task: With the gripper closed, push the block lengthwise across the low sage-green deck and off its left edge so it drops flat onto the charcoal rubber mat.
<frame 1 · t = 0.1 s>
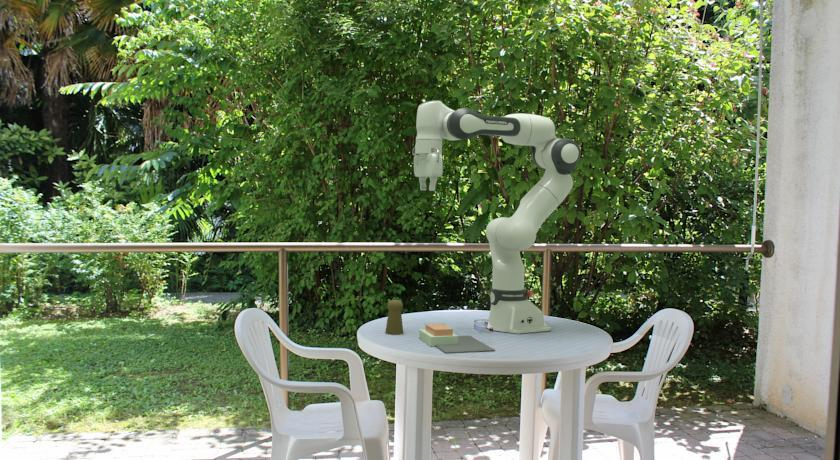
hand: (427, 190, 240), 48 cm above the table, fingers open, 8 cm apart
cork: (394, 333, 240), on the table
deck: (438, 341, 228), resting on mat
mat: (458, 344, 225), on the table
block: (438, 332, 227), point 3 cm above the table, touching deck
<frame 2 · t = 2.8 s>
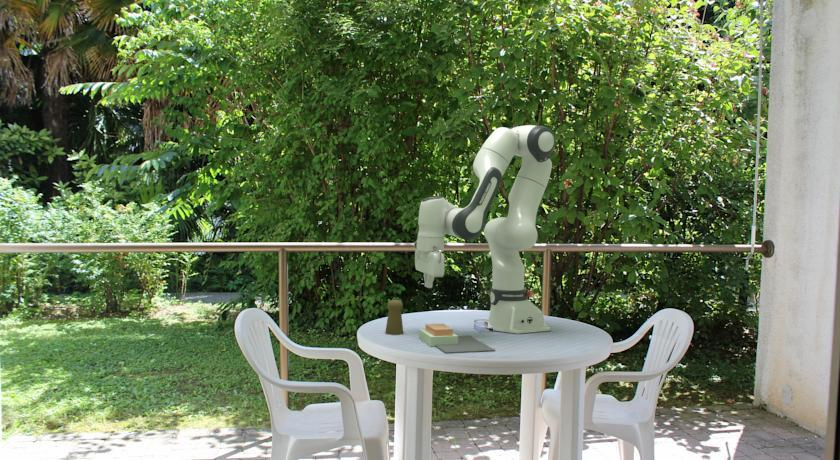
hand: (428, 287, 236), 16 cm above the table, fingers closed
nothing on the table moved.
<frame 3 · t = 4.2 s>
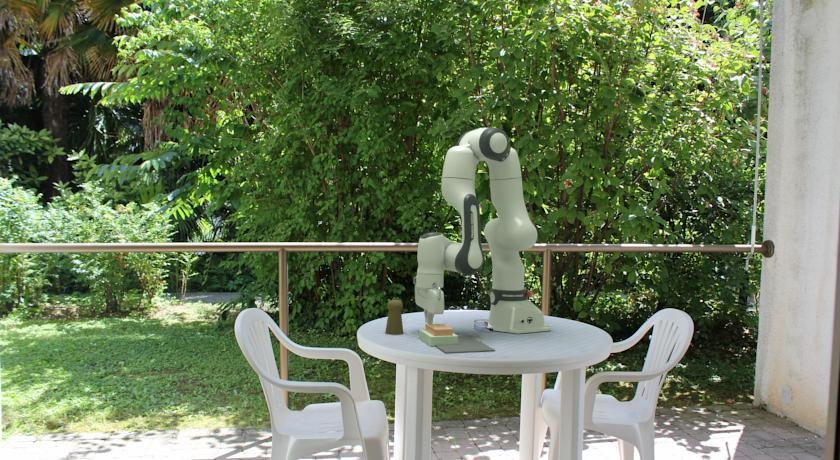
hand: (428, 323, 237), 4 cm above the table, fingers closed
nothing on the table moved.
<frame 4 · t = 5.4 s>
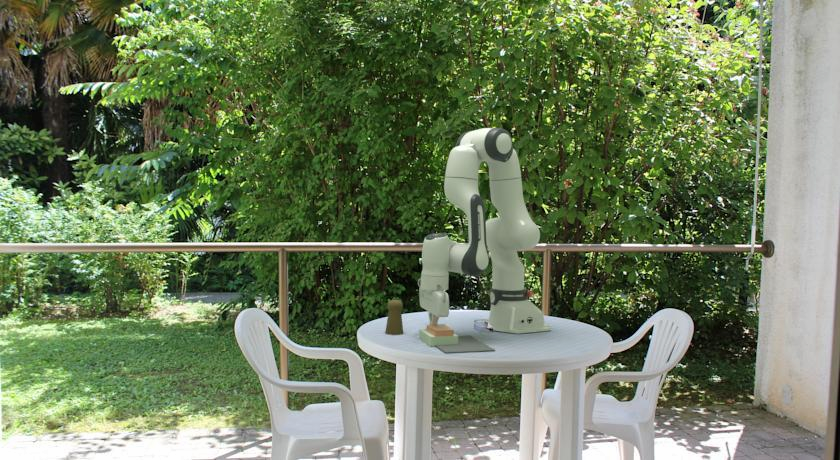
hand: (433, 326, 232), 4 cm above the table, fingers closed
block: (439, 333, 226), point 3 cm above the table, touching deck, gripper
everything else where it was.
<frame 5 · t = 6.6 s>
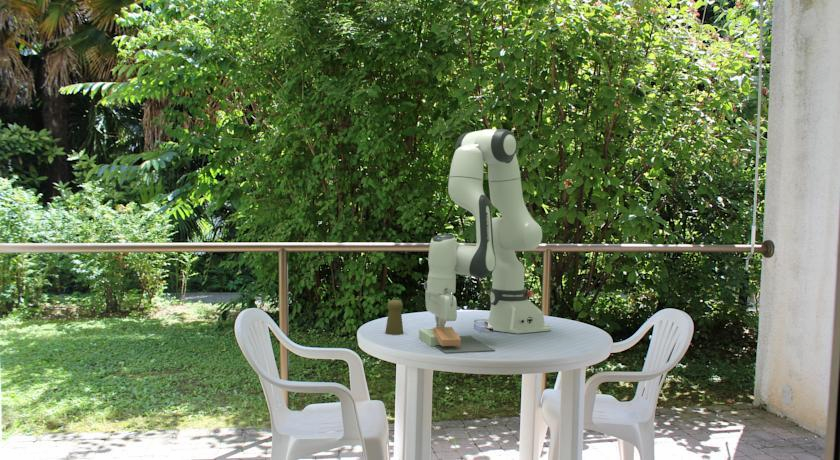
hand: (440, 330, 225), 4 cm above the table, fingers closed
block: (446, 339, 220), point 3 cm above the table, tilted 13°, touching gripper
everything else where it was.
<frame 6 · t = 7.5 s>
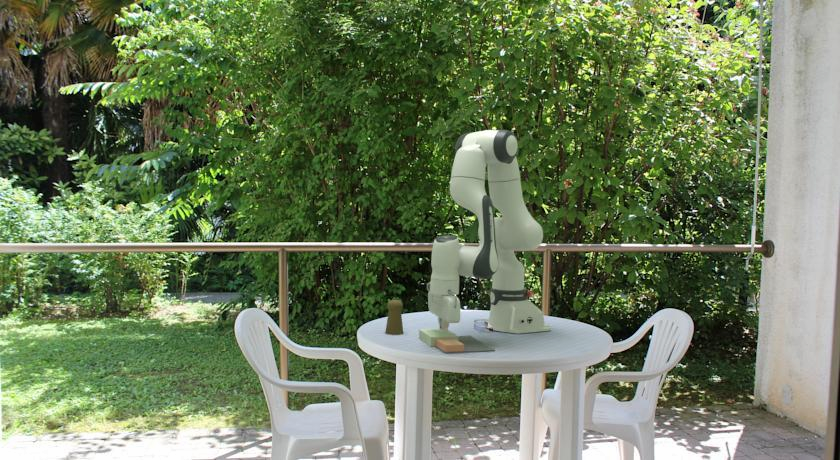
hand: (443, 332, 223), 4 cm above the table, fingers closed
block: (449, 348, 218), resting on mat
everything else where it was.
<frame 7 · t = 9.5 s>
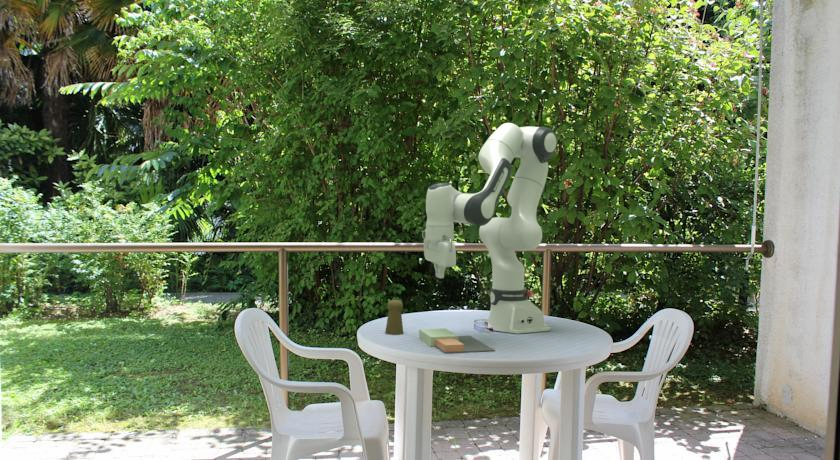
hand: (439, 277, 229), 20 cm above the table, fingers closed
nothing on the table moved.
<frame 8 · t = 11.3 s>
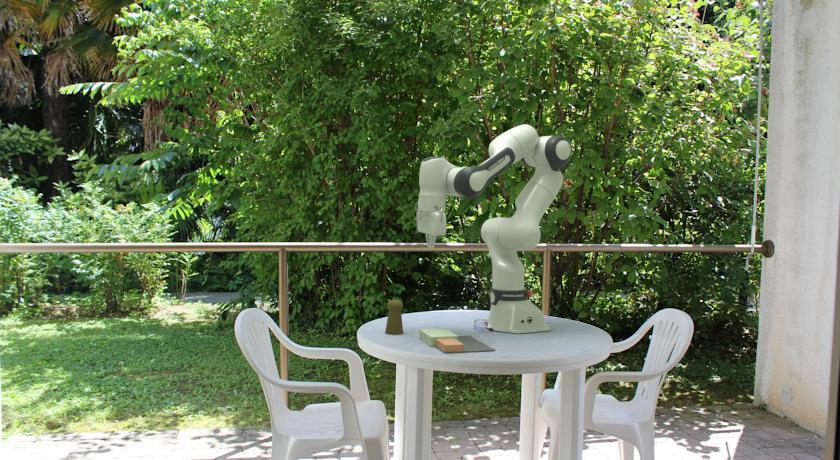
hand: (430, 247, 236), 29 cm above the table, fingers closed
nothing on the table moved.
at the end: block resting on mat; block inside the target area (4.5 cm from its centre), resting on mat; block tilted 0° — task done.
